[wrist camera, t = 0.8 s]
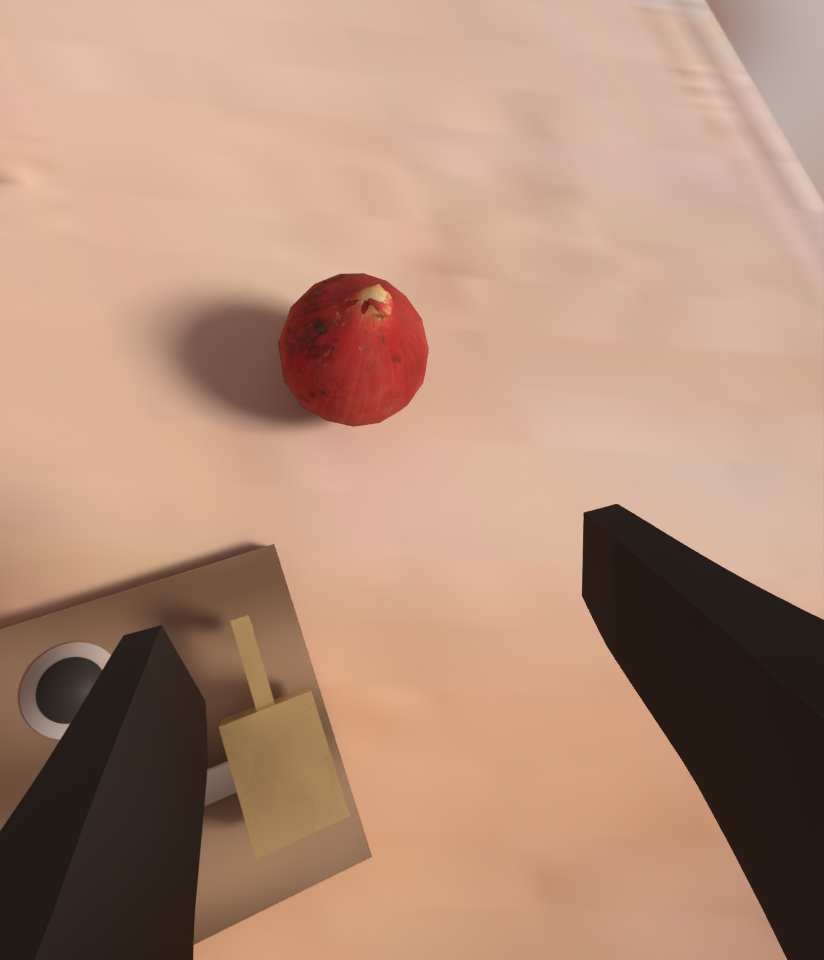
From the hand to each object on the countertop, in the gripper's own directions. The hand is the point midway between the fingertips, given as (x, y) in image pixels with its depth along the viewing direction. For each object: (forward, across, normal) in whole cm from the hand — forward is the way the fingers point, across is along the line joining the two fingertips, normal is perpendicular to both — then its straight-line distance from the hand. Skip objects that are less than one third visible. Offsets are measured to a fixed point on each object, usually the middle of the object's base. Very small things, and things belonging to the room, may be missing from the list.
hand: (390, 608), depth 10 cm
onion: (+18, 0, +5) cm, 19 cm away
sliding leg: (+7, +5, +11) cm, 14 cm away
